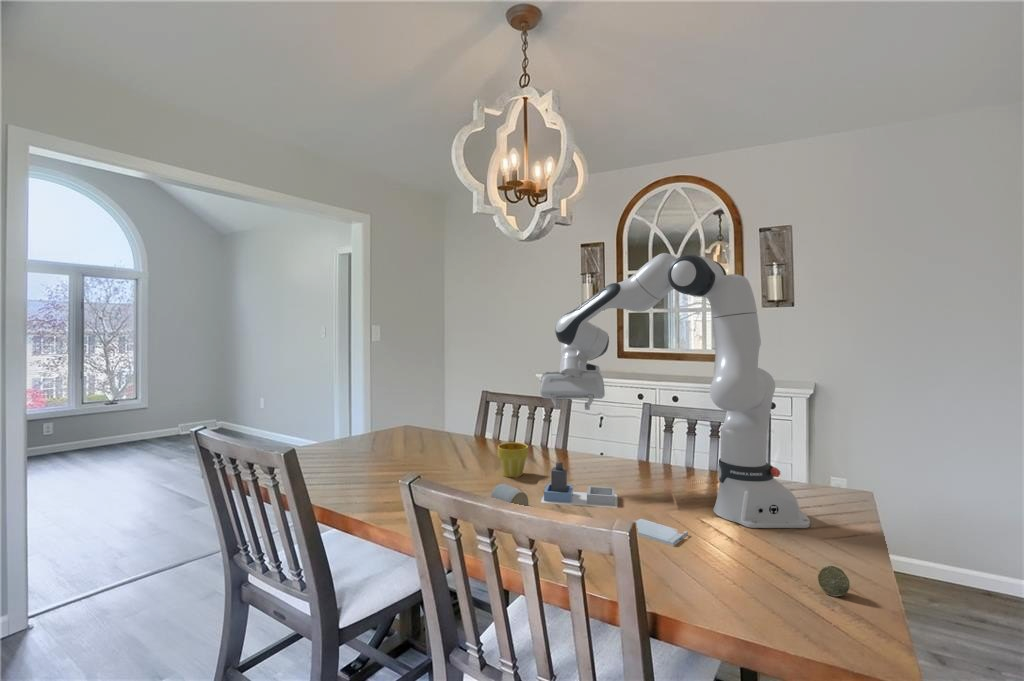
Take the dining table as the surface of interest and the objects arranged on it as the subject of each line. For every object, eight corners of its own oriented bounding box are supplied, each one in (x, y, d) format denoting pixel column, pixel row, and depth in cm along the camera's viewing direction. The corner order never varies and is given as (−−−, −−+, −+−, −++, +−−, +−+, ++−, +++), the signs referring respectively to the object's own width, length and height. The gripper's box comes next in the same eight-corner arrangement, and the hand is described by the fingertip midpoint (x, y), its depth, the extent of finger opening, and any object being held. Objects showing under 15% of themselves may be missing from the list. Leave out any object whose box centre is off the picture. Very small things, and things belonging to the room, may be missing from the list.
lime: (853, 600, 92) (853, 573, 92) (824, 598, 93) (824, 571, 93) (841, 588, 97) (842, 562, 97) (814, 586, 98) (814, 560, 98)
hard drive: (624, 527, 124) (673, 541, 115) (640, 517, 130) (688, 530, 122) (624, 534, 124) (673, 548, 115) (640, 524, 130) (688, 537, 122)
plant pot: (526, 480, 166) (526, 450, 165) (495, 478, 167) (495, 449, 167) (530, 471, 176) (530, 442, 176) (500, 469, 177) (500, 441, 177)
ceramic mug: (511, 523, 129) (511, 493, 129) (489, 515, 135) (489, 486, 135) (538, 513, 137) (538, 484, 137) (516, 505, 142) (516, 478, 142)
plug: (566, 495, 147) (566, 461, 147) (565, 499, 144) (565, 464, 143) (553, 494, 148) (553, 460, 148) (551, 498, 144) (551, 464, 144)
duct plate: (617, 497, 148) (617, 486, 148) (617, 511, 137) (617, 498, 137) (545, 493, 152) (545, 481, 152) (540, 506, 141) (540, 493, 141)
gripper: (540, 366, 165) (537, 403, 156) (604, 366, 161) (604, 403, 153) (542, 377, 170) (539, 413, 161) (604, 377, 166) (605, 414, 158)
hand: (571, 408), depth 157 cm, fingers open, 8 cm apart
